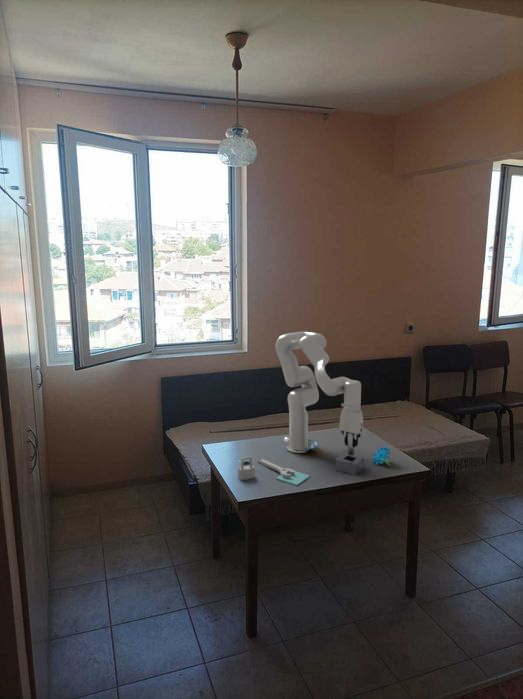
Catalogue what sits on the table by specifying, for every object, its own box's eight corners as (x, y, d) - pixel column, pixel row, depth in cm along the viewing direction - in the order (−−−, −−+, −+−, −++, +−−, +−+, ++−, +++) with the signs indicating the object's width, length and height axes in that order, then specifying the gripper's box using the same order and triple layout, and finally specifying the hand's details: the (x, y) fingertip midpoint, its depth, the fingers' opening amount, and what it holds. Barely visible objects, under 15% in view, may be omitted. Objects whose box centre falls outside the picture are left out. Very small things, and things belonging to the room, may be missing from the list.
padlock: (240, 481, 218) (240, 459, 216) (237, 477, 222) (237, 456, 220) (255, 478, 221) (255, 457, 219) (252, 474, 224) (252, 453, 223)
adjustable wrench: (255, 461, 239) (255, 458, 238) (266, 458, 242) (266, 455, 242) (286, 479, 218) (286, 475, 218) (297, 475, 222) (297, 471, 221)
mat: (276, 479, 220) (276, 477, 220) (289, 470, 228) (289, 469, 228) (297, 485, 213) (297, 484, 213) (310, 476, 222) (310, 475, 222)
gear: (368, 455, 241) (383, 442, 240) (375, 462, 243) (390, 449, 242) (377, 468, 231) (393, 453, 230) (384, 475, 233) (400, 461, 232)
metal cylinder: (345, 454, 229) (346, 429, 226) (349, 452, 231) (349, 427, 229) (352, 455, 227) (353, 431, 224) (355, 453, 229) (356, 428, 227)
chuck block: (335, 469, 230) (335, 459, 229) (344, 462, 238) (345, 452, 237) (354, 475, 224) (355, 464, 223) (364, 467, 232) (364, 457, 231)
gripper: (332, 406, 227) (331, 444, 230) (365, 412, 217) (364, 452, 221) (339, 402, 233) (338, 439, 236) (372, 408, 223) (371, 447, 227)
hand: (351, 445), depth 228 cm, fingers closed on metal cylinder, 3 cm apart
